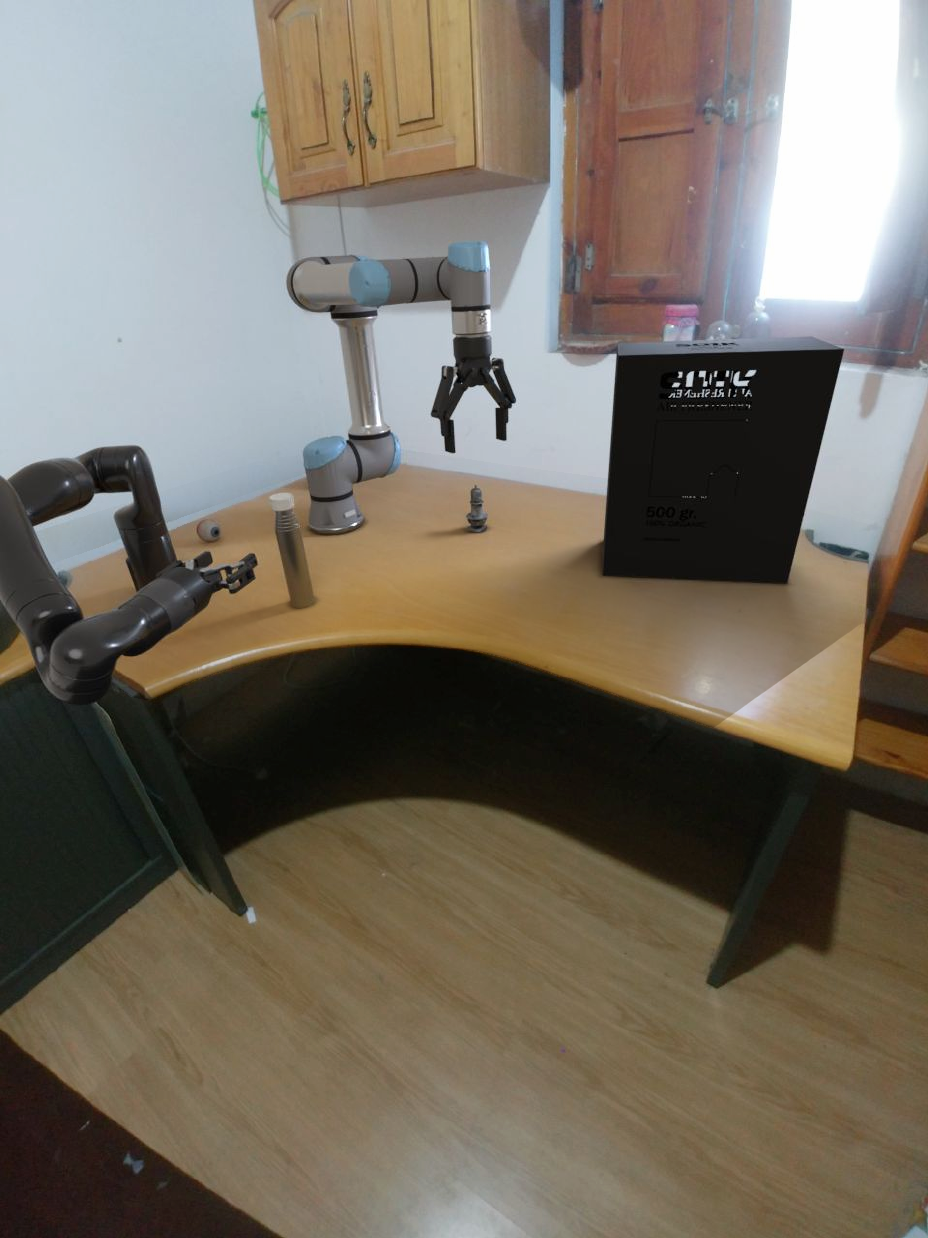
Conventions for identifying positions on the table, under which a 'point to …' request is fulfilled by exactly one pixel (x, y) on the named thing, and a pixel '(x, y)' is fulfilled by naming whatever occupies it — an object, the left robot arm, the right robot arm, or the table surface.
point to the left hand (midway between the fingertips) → (232, 557)
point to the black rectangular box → (714, 456)
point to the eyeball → (208, 530)
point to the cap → (281, 501)
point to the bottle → (293, 559)
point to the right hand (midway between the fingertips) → (476, 445)
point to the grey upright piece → (476, 512)
